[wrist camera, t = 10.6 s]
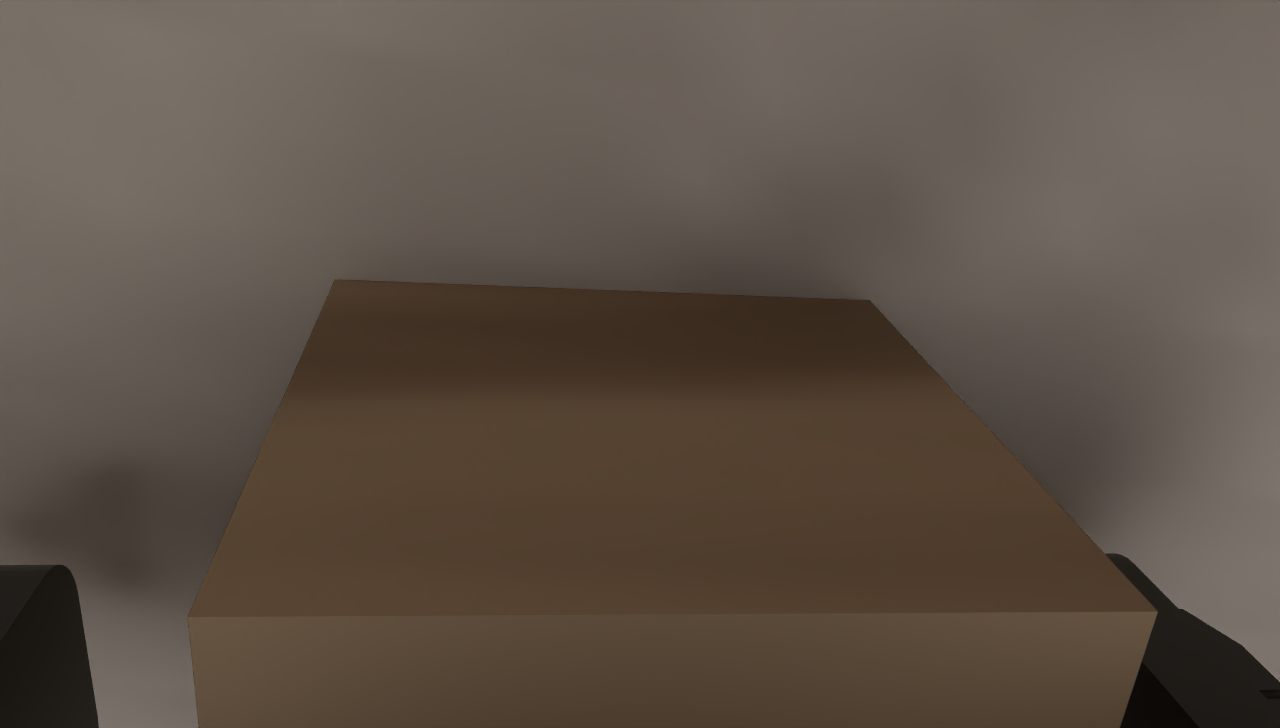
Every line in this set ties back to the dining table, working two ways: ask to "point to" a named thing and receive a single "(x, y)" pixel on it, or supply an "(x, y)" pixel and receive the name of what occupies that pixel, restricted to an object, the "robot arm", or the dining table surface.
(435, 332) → the block
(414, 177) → the dining table surface
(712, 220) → the dining table surface
